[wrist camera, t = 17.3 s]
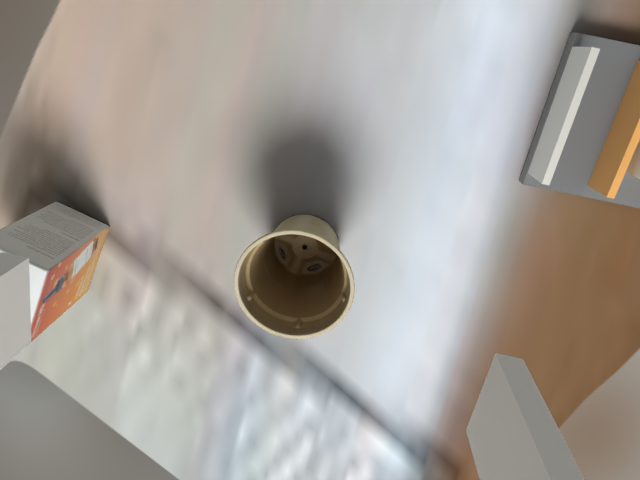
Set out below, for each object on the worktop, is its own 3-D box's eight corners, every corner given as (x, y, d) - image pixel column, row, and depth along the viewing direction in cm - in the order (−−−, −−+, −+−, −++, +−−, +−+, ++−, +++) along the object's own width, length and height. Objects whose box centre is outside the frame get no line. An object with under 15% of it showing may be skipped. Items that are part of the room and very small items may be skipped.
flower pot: (305, 308, 50) (295, 360, 42) (234, 243, 48) (209, 284, 40) (376, 247, 47) (380, 290, 39) (304, 176, 45) (292, 205, 37)
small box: (88, 291, 51) (24, 351, 41) (35, 267, 50) (-43, 322, 41) (112, 224, 48) (49, 271, 38) (56, 198, 48) (-23, 239, 38)
